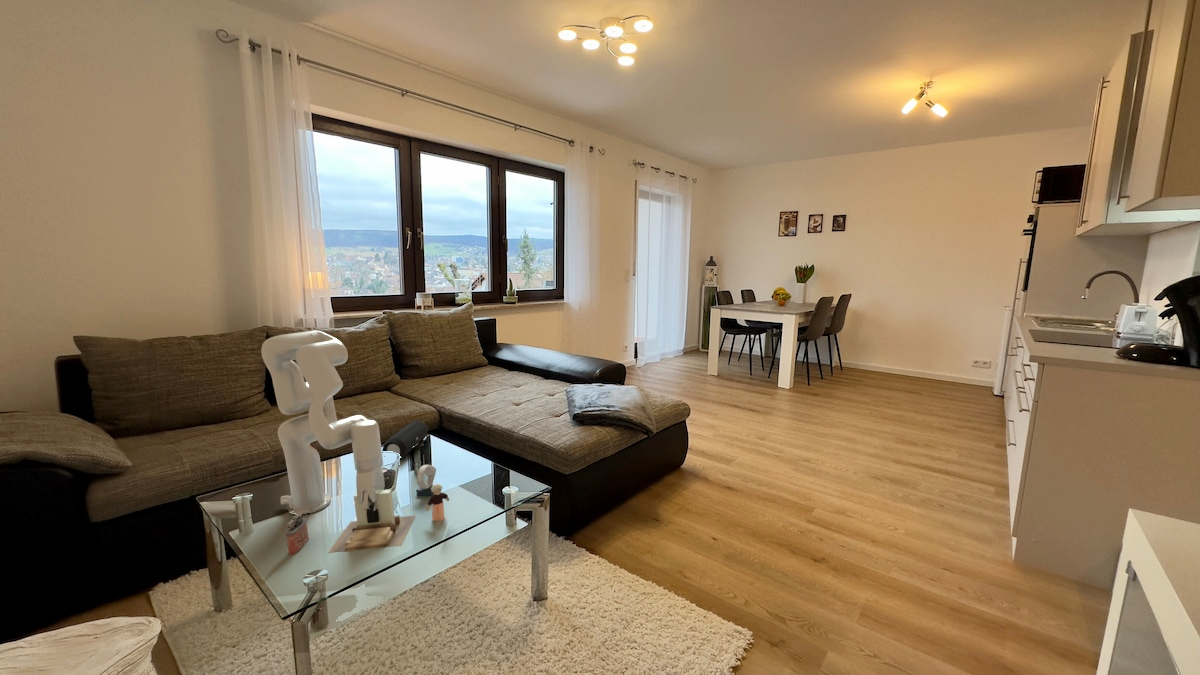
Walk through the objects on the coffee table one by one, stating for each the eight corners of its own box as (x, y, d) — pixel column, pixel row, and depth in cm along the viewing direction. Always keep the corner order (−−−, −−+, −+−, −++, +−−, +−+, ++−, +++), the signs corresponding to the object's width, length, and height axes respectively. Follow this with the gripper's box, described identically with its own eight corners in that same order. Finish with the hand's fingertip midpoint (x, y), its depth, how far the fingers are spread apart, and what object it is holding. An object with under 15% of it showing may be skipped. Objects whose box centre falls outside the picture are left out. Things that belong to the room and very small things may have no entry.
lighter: (301, 541, 139) (296, 510, 137) (313, 540, 139) (308, 509, 138) (285, 558, 131) (280, 525, 129) (298, 557, 131) (292, 524, 130)
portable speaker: (404, 463, 192) (402, 440, 190) (381, 463, 193) (378, 440, 191) (430, 439, 217) (428, 418, 215) (410, 439, 218) (407, 419, 216)
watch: (440, 490, 168) (437, 461, 166) (429, 501, 160) (425, 471, 158) (426, 489, 169) (423, 460, 167) (414, 500, 161) (410, 470, 159)
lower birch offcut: (345, 548, 133) (344, 543, 133) (350, 539, 137) (350, 535, 137) (388, 543, 135) (388, 538, 134) (393, 535, 139) (392, 530, 138)
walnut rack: (328, 556, 131) (326, 544, 131) (351, 524, 147) (349, 514, 146) (402, 548, 134) (400, 537, 133) (416, 518, 149) (415, 508, 149)
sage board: (358, 533, 140) (353, 496, 138) (361, 528, 143) (356, 492, 141) (393, 529, 142) (388, 493, 140) (395, 525, 144) (391, 489, 142)
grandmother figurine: (434, 528, 143) (430, 490, 141) (426, 525, 145) (422, 487, 143) (454, 516, 150) (450, 479, 148) (446, 513, 152) (442, 477, 150)
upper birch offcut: (350, 542, 133) (349, 537, 133) (355, 535, 137) (354, 530, 137) (386, 538, 135) (386, 533, 134) (390, 531, 138) (390, 526, 138)
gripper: (365, 451, 146) (372, 505, 149) (344, 475, 130) (352, 535, 133) (390, 449, 147) (396, 503, 150) (372, 473, 131) (379, 532, 134)
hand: (375, 517), depth 142 cm, fingers open, 3 cm apart
